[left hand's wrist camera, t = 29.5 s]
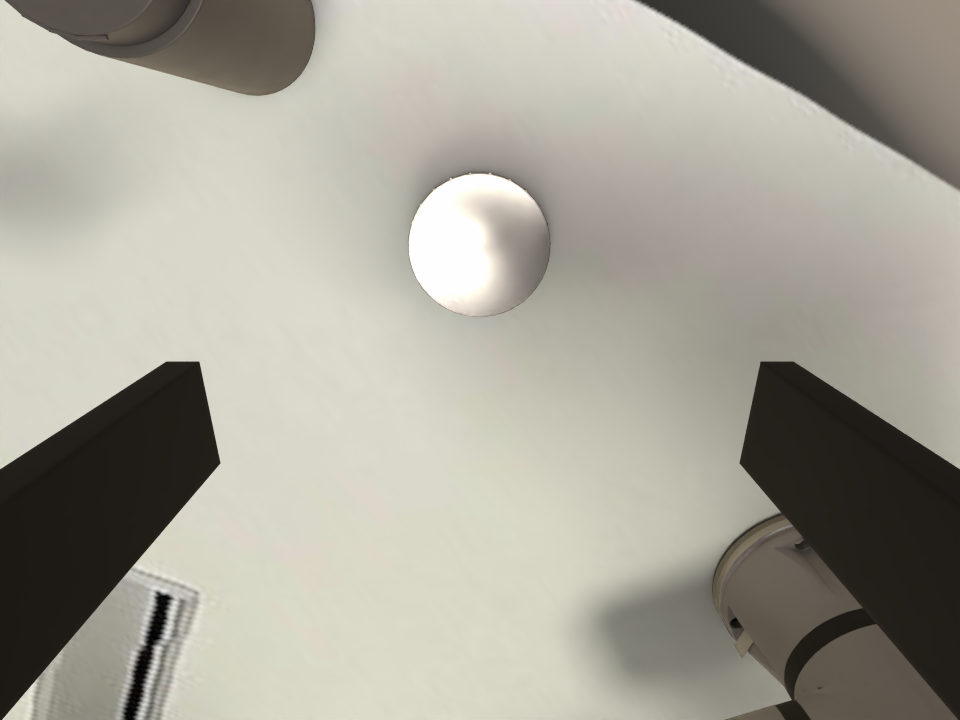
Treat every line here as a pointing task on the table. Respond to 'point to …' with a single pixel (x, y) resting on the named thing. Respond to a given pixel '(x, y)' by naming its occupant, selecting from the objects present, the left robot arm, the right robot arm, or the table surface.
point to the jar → (190, 36)
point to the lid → (479, 244)
